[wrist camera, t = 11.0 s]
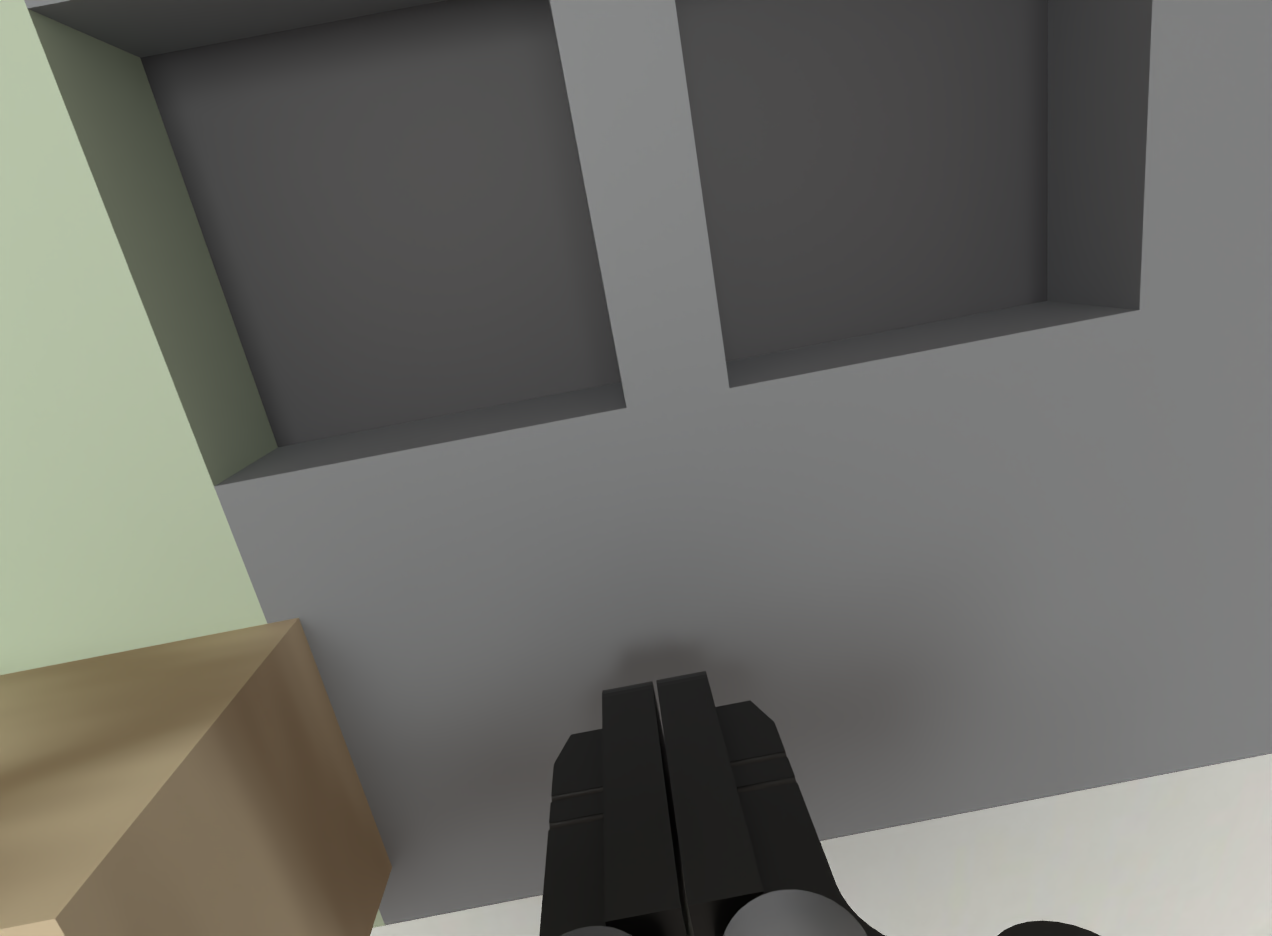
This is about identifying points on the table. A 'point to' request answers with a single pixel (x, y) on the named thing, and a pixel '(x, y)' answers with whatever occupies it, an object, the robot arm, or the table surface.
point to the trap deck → (654, 382)
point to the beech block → (184, 795)
